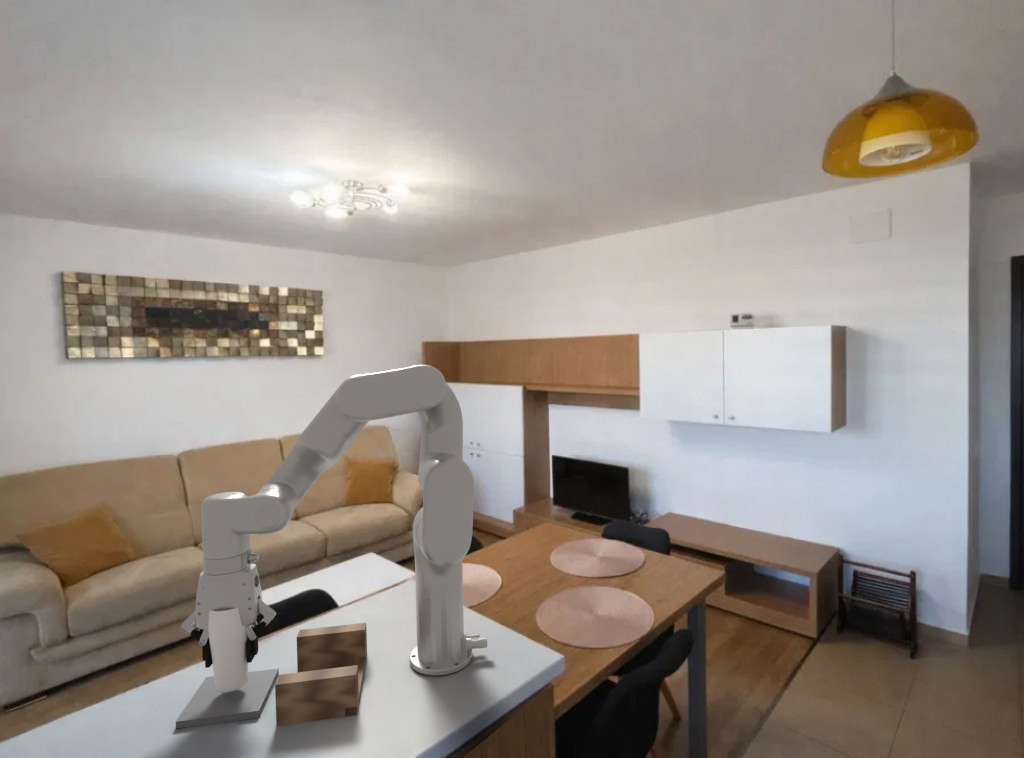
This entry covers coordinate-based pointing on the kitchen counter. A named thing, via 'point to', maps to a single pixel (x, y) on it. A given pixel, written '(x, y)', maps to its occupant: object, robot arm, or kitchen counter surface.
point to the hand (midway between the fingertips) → (231, 660)
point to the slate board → (228, 701)
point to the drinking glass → (228, 650)
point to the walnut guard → (323, 675)
